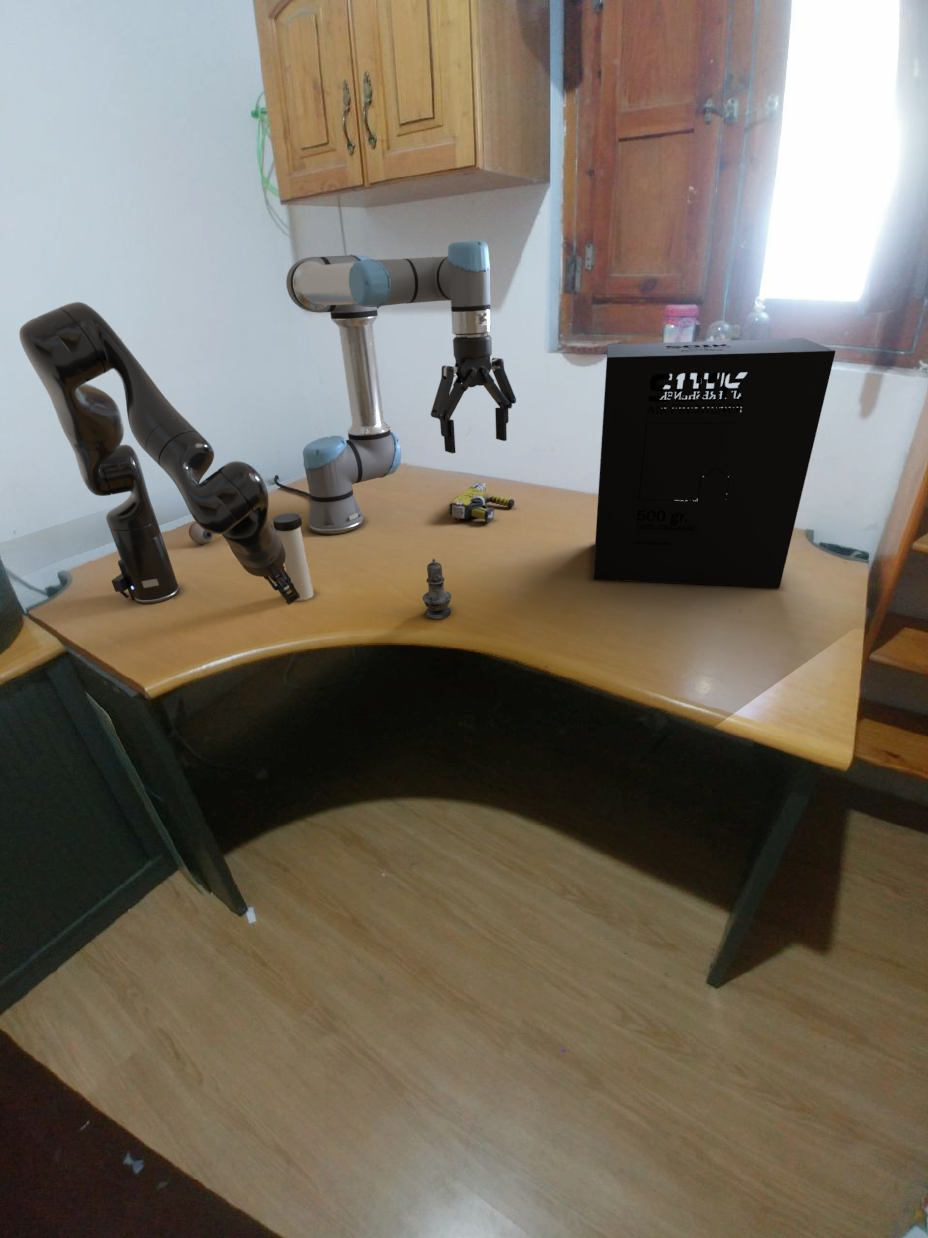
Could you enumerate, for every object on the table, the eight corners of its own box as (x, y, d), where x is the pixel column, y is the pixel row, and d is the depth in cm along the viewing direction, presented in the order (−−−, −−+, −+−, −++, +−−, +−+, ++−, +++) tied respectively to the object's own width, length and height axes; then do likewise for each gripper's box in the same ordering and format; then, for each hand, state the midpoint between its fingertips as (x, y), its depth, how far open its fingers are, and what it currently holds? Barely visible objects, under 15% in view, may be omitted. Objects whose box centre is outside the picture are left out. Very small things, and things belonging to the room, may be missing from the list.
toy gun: (522, 487, 180) (475, 480, 184) (500, 511, 160) (447, 502, 164) (521, 502, 182) (474, 495, 186) (499, 527, 162) (447, 519, 166)
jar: (298, 590, 135) (282, 515, 126) (317, 591, 134) (302, 516, 125) (288, 600, 131) (271, 523, 122) (307, 601, 130) (291, 524, 121)
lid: (282, 520, 128) (281, 512, 127) (306, 521, 126) (305, 513, 125) (269, 530, 123) (267, 522, 122) (294, 531, 122) (292, 523, 121)
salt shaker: (449, 620, 120) (445, 565, 114) (420, 618, 121) (415, 564, 115) (455, 606, 125) (451, 552, 119) (427, 604, 126) (422, 551, 120)
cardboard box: (759, 548, 141) (803, 338, 119) (779, 587, 124) (835, 350, 102) (595, 543, 149) (607, 344, 126) (593, 579, 132) (607, 357, 109)
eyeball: (202, 548, 159) (196, 527, 156) (187, 544, 162) (181, 523, 159) (221, 540, 163) (215, 519, 160) (206, 537, 166) (200, 516, 163)
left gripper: (212, 526, 98) (239, 563, 114) (261, 592, 96) (282, 621, 111) (252, 501, 100) (273, 541, 116) (301, 565, 98) (316, 598, 113)
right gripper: (429, 342, 108) (437, 460, 118) (533, 329, 120) (532, 437, 131) (407, 340, 113) (417, 454, 124) (508, 328, 125) (510, 432, 136)
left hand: (278, 580), depth 114 cm, fingers open, 8 cm apart
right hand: (476, 445), depth 127 cm, fingers open, 13 cm apart
